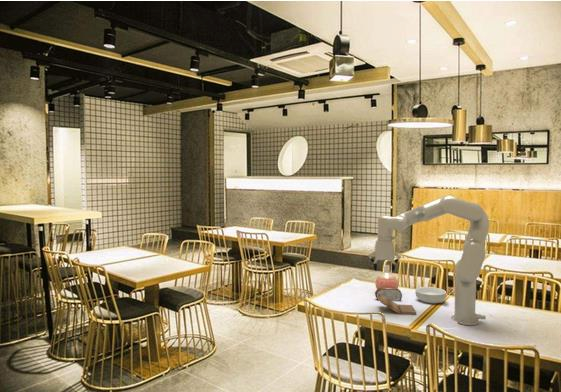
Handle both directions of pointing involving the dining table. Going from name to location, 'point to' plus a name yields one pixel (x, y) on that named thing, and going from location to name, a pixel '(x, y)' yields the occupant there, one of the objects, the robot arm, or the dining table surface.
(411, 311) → the floor board
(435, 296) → the cereal bowl
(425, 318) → the dining table surface
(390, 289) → the tin
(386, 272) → the vase
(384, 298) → the panel
